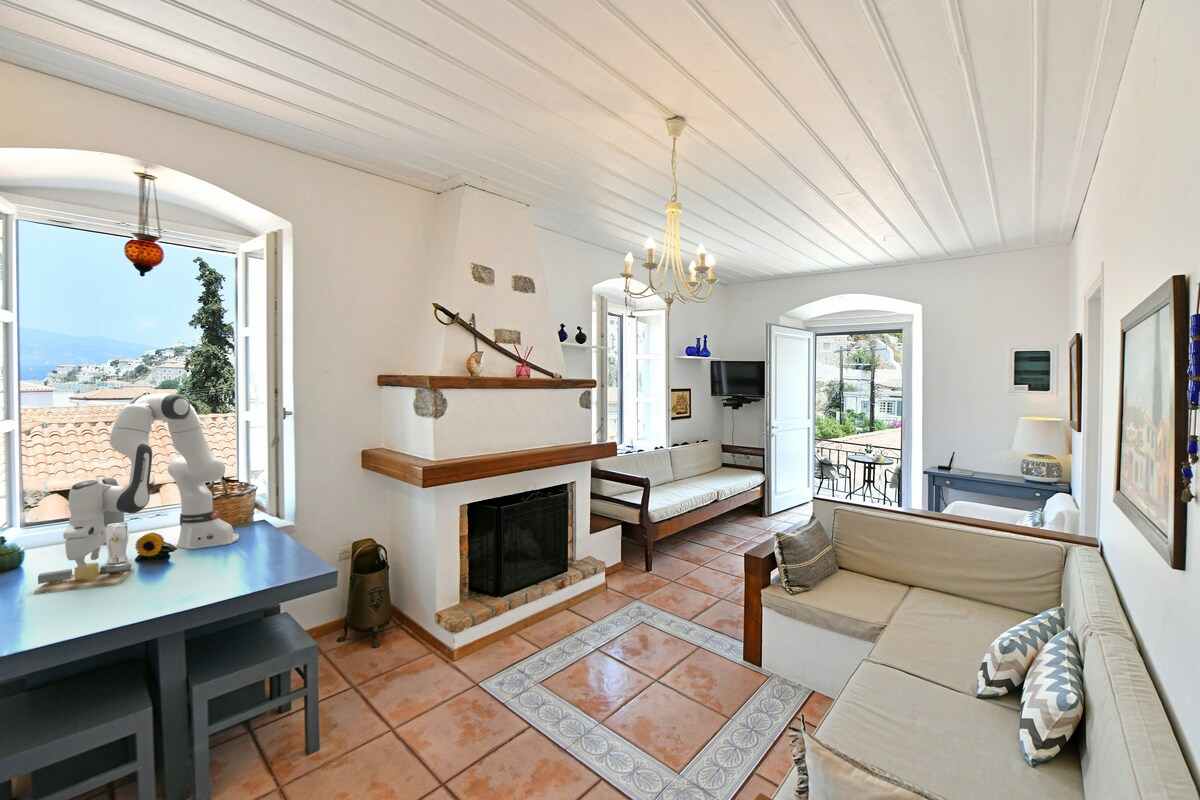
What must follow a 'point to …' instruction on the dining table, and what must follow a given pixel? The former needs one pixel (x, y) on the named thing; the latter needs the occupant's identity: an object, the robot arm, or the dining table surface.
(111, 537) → the beer glass
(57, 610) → the dining table surface
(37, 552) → the dining table surface
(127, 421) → the robot arm
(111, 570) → the shafts
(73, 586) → the board
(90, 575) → the yellow block
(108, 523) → the water bottle
